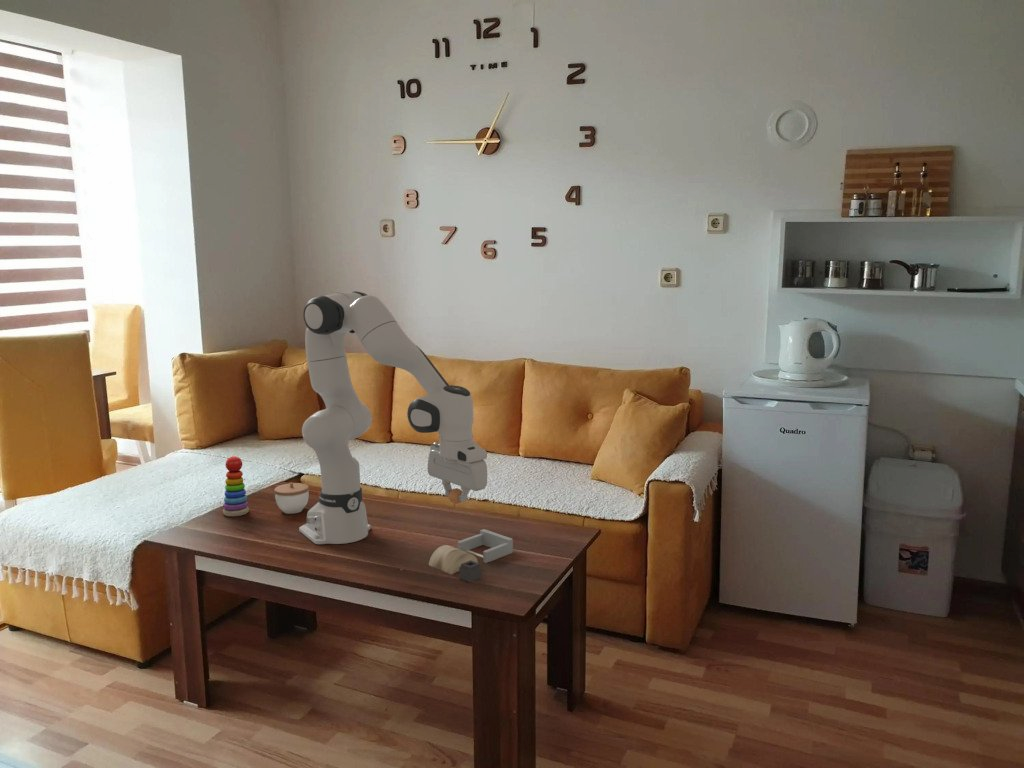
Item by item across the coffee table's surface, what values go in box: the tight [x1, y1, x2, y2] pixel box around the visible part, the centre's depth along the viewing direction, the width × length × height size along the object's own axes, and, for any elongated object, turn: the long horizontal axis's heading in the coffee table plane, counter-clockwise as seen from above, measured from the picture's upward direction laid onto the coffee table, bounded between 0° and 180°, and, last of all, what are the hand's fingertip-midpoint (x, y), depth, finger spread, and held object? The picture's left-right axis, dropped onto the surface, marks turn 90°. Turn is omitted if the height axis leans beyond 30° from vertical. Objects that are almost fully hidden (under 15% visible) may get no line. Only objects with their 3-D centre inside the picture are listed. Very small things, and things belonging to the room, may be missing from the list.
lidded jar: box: [273, 482, 310, 515], centre depth 257 cm, size 11×11×9 cm
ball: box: [448, 488, 463, 505], centre depth 209 cm, size 4×4×4 cm
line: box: [465, 549, 483, 558], centre depth 218 cm, size 9×1×1 cm, turn 46°
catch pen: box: [456, 528, 514, 564], centre depth 220 cm, size 12×10×4 cm
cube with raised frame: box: [458, 560, 483, 583], centre depth 202 cm, size 4×4×4 cm
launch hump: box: [428, 544, 479, 575], centre depth 212 cm, size 9×10×10 cm
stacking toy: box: [222, 456, 250, 517], centre depth 254 cm, size 8×8×19 cm
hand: (456, 499), depth 209 cm, fingers closed on ball, 4 cm apart
